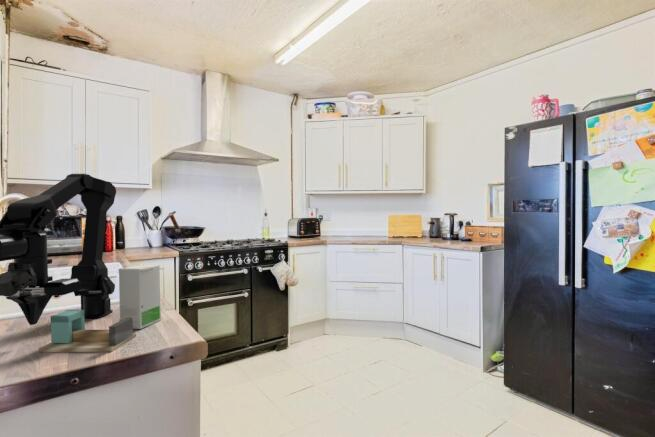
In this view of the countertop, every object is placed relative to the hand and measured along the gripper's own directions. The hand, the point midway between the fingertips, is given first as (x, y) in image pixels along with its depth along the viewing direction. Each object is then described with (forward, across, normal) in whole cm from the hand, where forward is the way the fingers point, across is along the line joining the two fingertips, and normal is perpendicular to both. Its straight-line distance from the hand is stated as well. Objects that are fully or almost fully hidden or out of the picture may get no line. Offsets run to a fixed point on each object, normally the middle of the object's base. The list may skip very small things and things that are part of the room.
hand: (33, 324), depth 78 cm
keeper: (+3, +8, 0) cm, 9 cm away
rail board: (+4, +13, 0) cm, 14 cm away
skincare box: (+5, +17, +14) cm, 22 cm away
